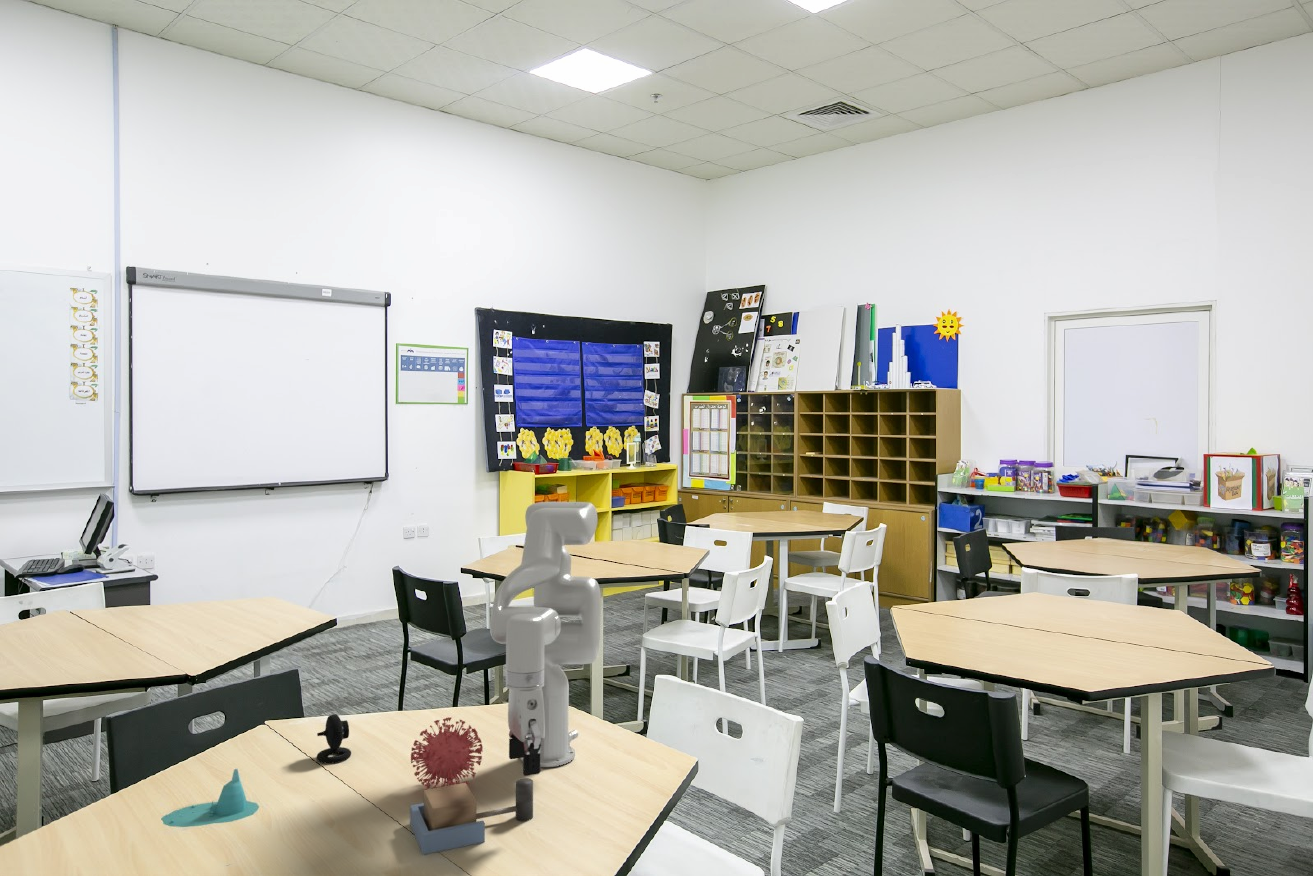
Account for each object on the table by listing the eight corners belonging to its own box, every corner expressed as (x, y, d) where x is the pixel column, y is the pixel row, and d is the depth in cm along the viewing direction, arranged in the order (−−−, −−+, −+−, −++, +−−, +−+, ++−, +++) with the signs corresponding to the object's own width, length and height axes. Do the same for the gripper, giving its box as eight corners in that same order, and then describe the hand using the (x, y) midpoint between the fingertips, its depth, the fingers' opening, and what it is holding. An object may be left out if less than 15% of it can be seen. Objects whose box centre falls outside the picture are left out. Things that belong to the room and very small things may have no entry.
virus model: (495, 780, 183) (495, 712, 183) (457, 809, 169) (457, 735, 169) (436, 771, 188) (437, 705, 188) (395, 798, 174) (396, 726, 174)
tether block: (432, 847, 154) (433, 809, 153) (423, 826, 162) (423, 790, 162) (539, 825, 162) (539, 788, 162) (525, 806, 170) (526, 772, 170)
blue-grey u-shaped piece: (422, 854, 151) (422, 835, 151) (410, 823, 163) (410, 805, 163) (484, 842, 155) (484, 823, 155) (467, 812, 168) (468, 795, 168)
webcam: (354, 760, 194) (355, 716, 194) (321, 767, 190) (321, 722, 190) (346, 749, 201) (346, 707, 201) (313, 756, 197) (313, 713, 197)
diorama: (162, 808, 170) (162, 765, 170) (269, 796, 175) (269, 755, 175) (142, 835, 158) (143, 790, 158) (258, 822, 163) (258, 778, 163)
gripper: (557, 686, 159) (556, 778, 159) (530, 666, 175) (529, 749, 174) (519, 691, 156) (518, 784, 155) (494, 670, 172) (493, 755, 171)
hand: (524, 766), depth 165 cm, fingers open, 9 cm apart
